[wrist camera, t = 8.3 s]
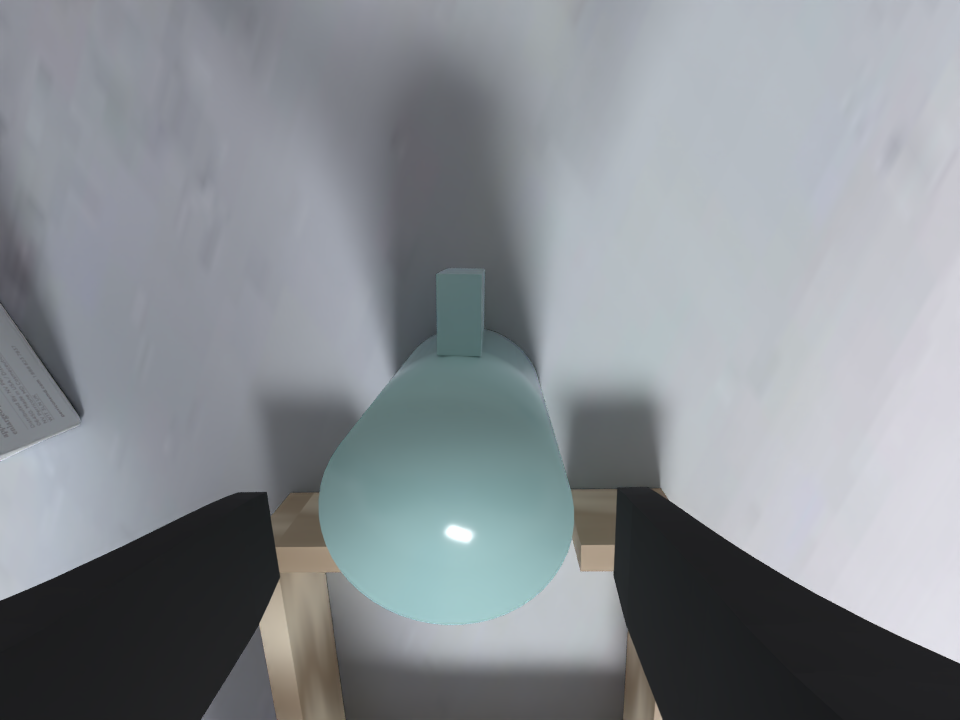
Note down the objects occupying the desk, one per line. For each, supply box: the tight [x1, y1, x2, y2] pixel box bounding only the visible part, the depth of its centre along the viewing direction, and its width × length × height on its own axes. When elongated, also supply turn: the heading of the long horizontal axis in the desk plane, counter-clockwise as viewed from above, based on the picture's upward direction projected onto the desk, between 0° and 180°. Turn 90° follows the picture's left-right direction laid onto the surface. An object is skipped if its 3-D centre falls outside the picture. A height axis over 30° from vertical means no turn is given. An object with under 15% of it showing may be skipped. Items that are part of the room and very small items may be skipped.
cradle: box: [259, 488, 668, 720], centre depth 18 cm, size 14×15×4 cm
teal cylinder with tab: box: [318, 268, 574, 625], centre depth 13 cm, size 6×8×8 cm
